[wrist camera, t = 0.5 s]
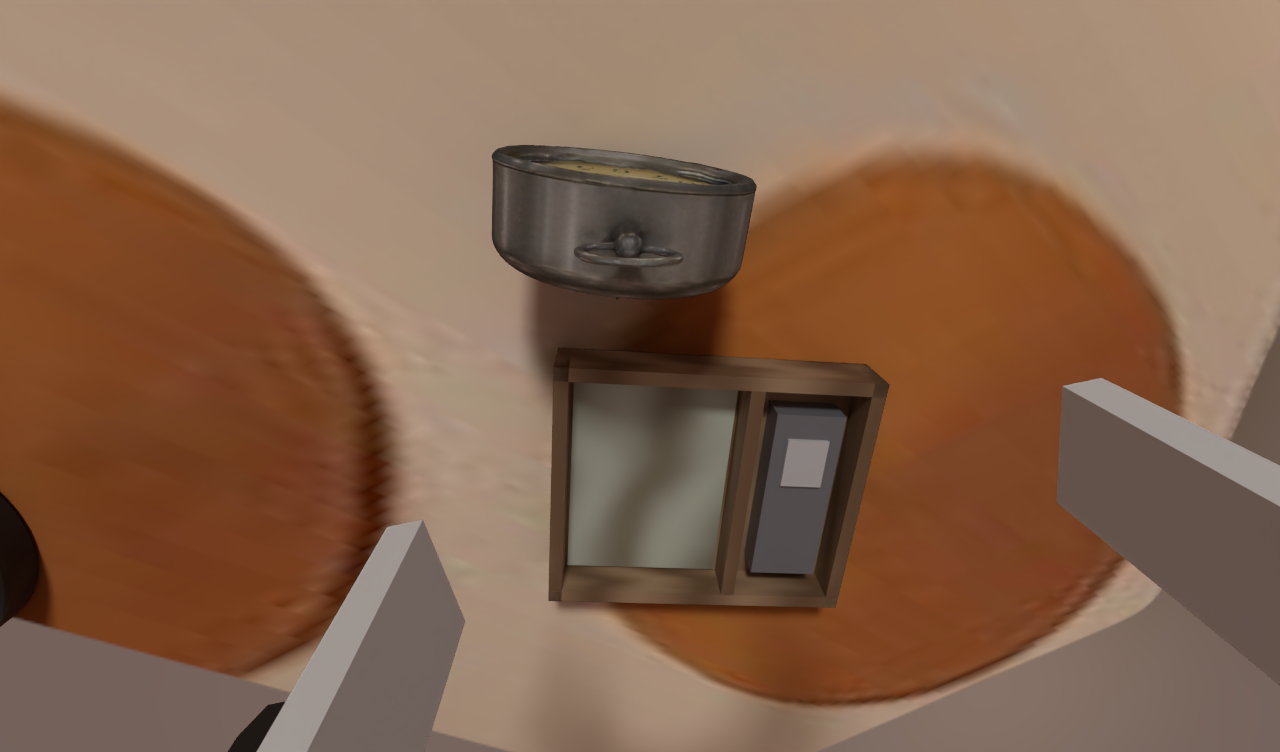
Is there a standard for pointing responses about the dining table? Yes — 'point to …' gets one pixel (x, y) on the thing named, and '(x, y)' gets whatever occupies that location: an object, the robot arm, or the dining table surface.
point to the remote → (793, 485)
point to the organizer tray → (689, 475)
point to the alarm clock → (619, 221)
